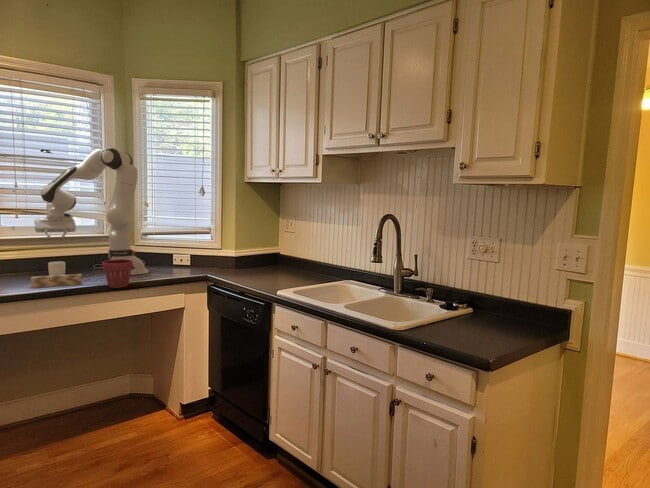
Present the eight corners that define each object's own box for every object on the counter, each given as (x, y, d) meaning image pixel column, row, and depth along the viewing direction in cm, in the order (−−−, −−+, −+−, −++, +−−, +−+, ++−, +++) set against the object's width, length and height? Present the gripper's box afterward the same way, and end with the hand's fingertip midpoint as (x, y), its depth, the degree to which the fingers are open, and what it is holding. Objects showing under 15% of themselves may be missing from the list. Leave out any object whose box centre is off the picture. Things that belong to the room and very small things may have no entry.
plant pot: (102, 289, 228) (101, 263, 227) (103, 284, 241) (102, 259, 239) (133, 287, 234) (133, 262, 232) (132, 282, 246) (132, 258, 245)
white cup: (48, 283, 240) (47, 264, 239) (49, 280, 247) (48, 261, 246) (65, 282, 244) (65, 263, 243) (66, 279, 251) (65, 261, 250)
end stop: (81, 282, 243) (81, 273, 243) (82, 284, 239) (81, 274, 239) (32, 285, 232) (31, 276, 232) (31, 287, 228) (31, 277, 228)
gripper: (34, 214, 262) (33, 233, 254) (75, 214, 272) (76, 232, 264) (34, 222, 266) (34, 240, 258) (75, 221, 276) (76, 239, 269)
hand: (56, 236), depth 261 cm, fingers open, 6 cm apart
